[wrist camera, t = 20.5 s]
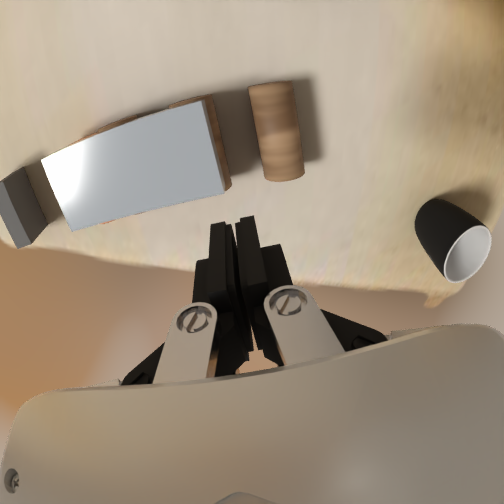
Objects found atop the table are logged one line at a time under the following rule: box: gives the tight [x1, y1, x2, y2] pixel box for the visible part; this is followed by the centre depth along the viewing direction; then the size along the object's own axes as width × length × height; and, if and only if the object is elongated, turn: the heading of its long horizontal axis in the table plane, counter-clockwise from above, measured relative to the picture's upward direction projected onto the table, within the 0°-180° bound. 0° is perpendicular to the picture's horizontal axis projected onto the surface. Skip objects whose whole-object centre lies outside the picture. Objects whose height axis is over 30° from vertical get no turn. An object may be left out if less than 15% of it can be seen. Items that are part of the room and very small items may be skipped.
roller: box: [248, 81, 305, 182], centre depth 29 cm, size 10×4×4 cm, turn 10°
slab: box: [41, 99, 225, 232], centre depth 27 cm, size 18×9×2 cm, turn 101°
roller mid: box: [169, 94, 232, 191], centre depth 29 cm, size 10×4×4 cm, turn 10°
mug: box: [415, 199, 492, 283], centre depth 35 cm, size 12×9×10 cm
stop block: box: [0, 167, 48, 249], centre depth 30 cm, size 3×9×5 cm, turn 10°
